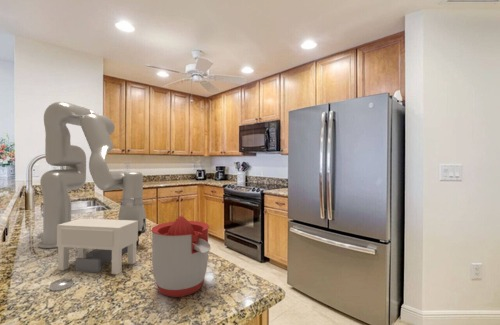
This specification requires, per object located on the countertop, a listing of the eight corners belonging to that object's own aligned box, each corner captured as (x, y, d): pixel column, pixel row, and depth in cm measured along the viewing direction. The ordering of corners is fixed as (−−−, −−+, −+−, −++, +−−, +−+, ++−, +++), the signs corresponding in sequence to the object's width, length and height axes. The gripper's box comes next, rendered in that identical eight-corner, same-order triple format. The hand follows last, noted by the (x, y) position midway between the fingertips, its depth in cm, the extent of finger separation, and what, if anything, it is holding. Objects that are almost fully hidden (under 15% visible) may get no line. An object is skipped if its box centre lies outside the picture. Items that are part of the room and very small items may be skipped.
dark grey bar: (75, 271, 81) (75, 254, 81) (127, 245, 107) (127, 232, 107) (98, 272, 80) (98, 255, 80) (144, 246, 105) (144, 232, 105)
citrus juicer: (183, 311, 59) (184, 226, 59) (138, 291, 68) (138, 217, 68) (224, 284, 72) (225, 215, 72) (182, 270, 82) (182, 208, 82)
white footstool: (55, 270, 81) (55, 225, 81) (81, 258, 92) (81, 218, 92) (118, 275, 78) (118, 228, 78) (137, 262, 88) (137, 220, 88)
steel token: (45, 291, 69) (45, 285, 69) (62, 282, 74) (62, 277, 74) (60, 293, 68) (60, 287, 68) (76, 284, 73) (76, 279, 73)
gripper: (109, 202, 101) (108, 248, 101) (145, 204, 99) (145, 251, 99) (121, 200, 109) (120, 243, 109) (155, 201, 106) (155, 245, 106)
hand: (132, 246), depth 104 cm, fingers closed on dark grey bar
